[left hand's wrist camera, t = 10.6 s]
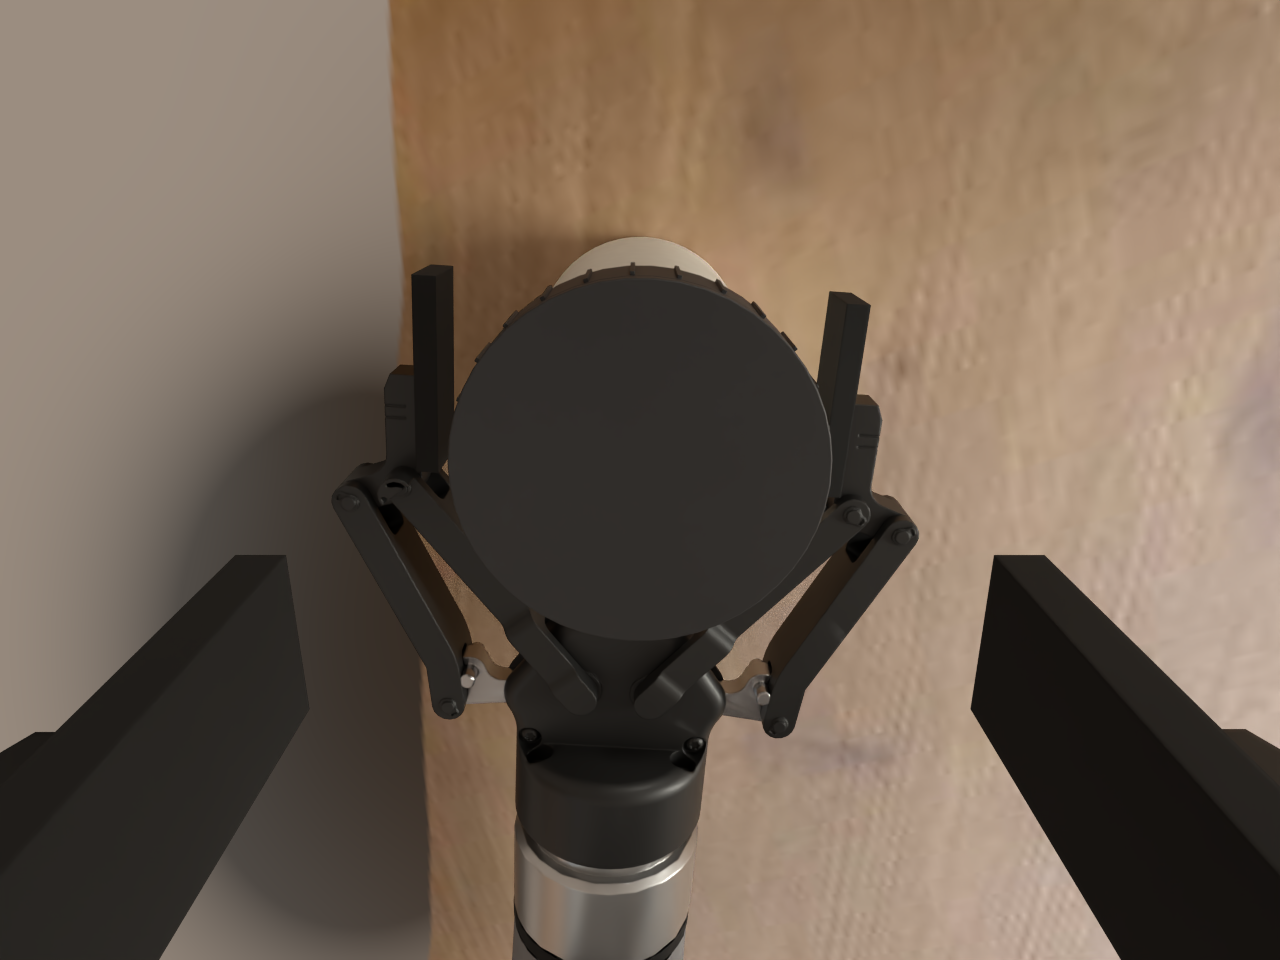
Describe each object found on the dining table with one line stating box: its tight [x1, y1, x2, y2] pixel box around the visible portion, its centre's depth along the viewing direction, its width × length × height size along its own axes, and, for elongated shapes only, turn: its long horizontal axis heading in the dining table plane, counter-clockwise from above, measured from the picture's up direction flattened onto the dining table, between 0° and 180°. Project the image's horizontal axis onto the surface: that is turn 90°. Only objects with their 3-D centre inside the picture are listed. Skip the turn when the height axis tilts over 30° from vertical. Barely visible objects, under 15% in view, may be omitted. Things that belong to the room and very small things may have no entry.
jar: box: [553, 237, 727, 288], centre depth 28 cm, size 8×8×16 cm
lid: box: [448, 262, 832, 641], centre depth 22 cm, size 9×9×2 cm
